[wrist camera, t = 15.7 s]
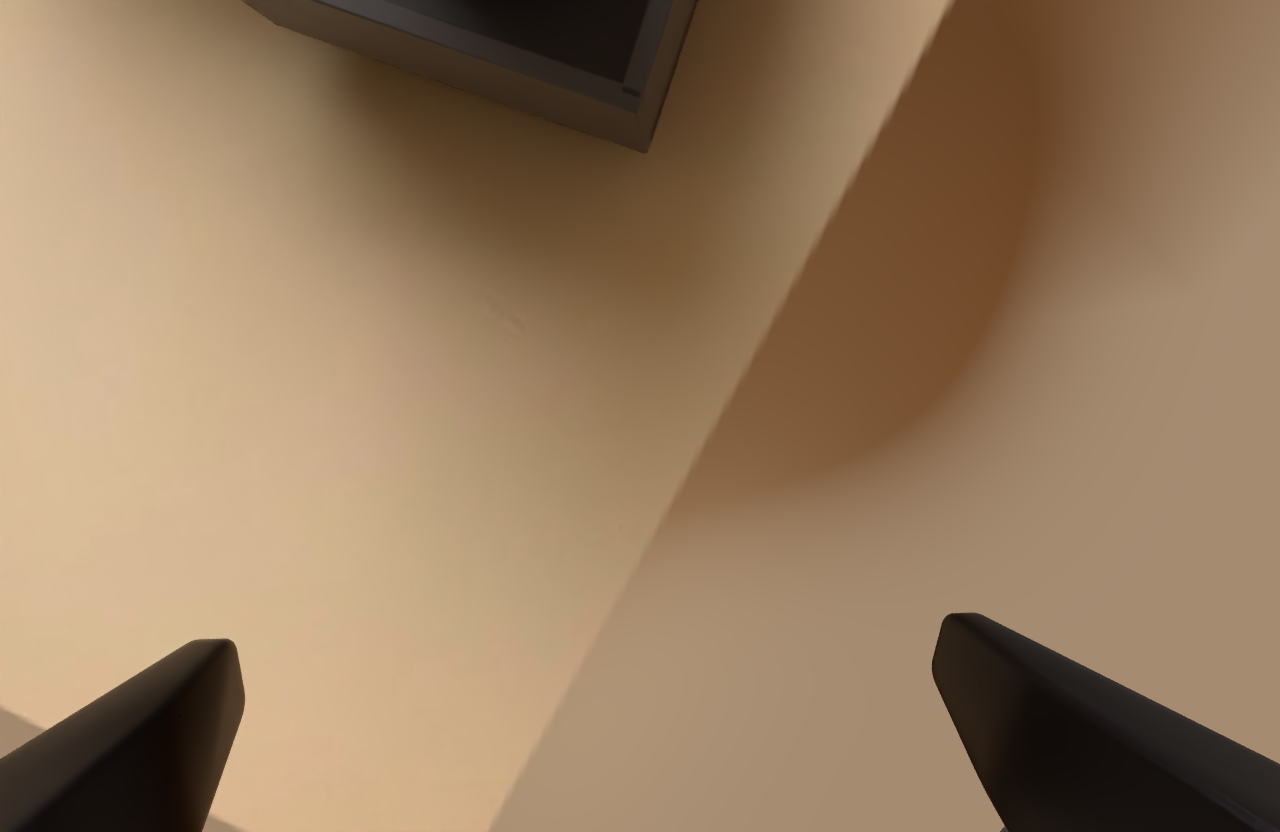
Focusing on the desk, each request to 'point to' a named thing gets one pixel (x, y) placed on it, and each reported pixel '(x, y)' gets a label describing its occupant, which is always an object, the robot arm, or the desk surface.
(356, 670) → the desk surface
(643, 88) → the blue box
